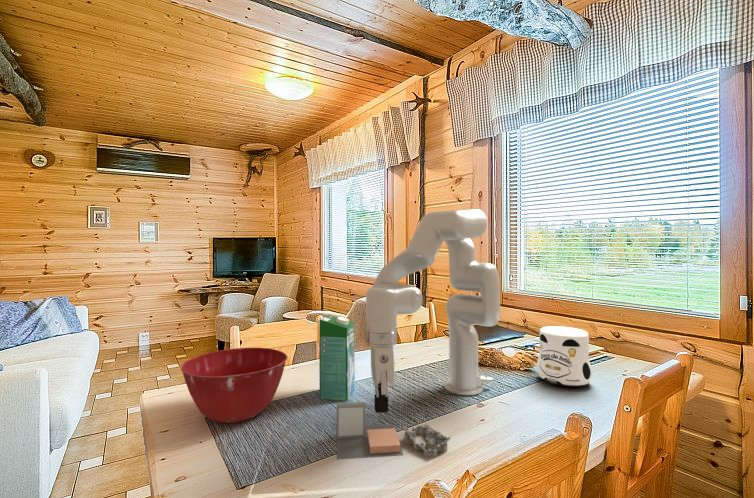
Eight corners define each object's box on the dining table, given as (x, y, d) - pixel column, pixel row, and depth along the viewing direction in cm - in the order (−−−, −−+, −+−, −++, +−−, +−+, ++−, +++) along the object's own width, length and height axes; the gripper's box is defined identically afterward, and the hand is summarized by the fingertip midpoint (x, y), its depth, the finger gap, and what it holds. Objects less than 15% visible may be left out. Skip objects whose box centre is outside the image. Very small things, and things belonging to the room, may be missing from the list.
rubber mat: (393, 426, 102) (393, 424, 102) (403, 457, 87) (403, 455, 87) (336, 429, 100) (336, 427, 100) (337, 461, 85) (337, 459, 85)
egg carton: (399, 443, 94) (399, 426, 94) (423, 434, 98) (423, 418, 98) (428, 463, 85) (428, 445, 85) (453, 453, 89) (453, 436, 89)
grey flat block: (364, 433, 97) (364, 402, 96) (365, 437, 95) (365, 404, 95) (336, 435, 96) (336, 403, 96) (336, 438, 94) (336, 406, 94)
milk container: (541, 388, 128) (541, 335, 128) (533, 372, 145) (533, 324, 144) (598, 393, 124) (599, 338, 124) (583, 375, 141) (583, 326, 140)
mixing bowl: (187, 401, 118) (186, 351, 118) (281, 388, 128) (281, 342, 128) (174, 446, 92) (173, 382, 92) (294, 426, 102) (293, 368, 102)
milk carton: (347, 401, 118) (346, 320, 118) (319, 398, 120) (319, 319, 120) (354, 390, 127) (354, 315, 127) (328, 388, 129) (328, 314, 128)
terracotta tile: (394, 428, 96) (400, 444, 88) (394, 435, 96) (400, 452, 88) (367, 429, 95) (370, 446, 87) (367, 436, 95) (370, 454, 87)
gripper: (401, 344, 87) (401, 424, 88) (391, 330, 102) (391, 398, 102) (368, 345, 87) (369, 426, 87) (363, 331, 101) (363, 399, 102)
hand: (381, 411), depth 95 cm, fingers closed
